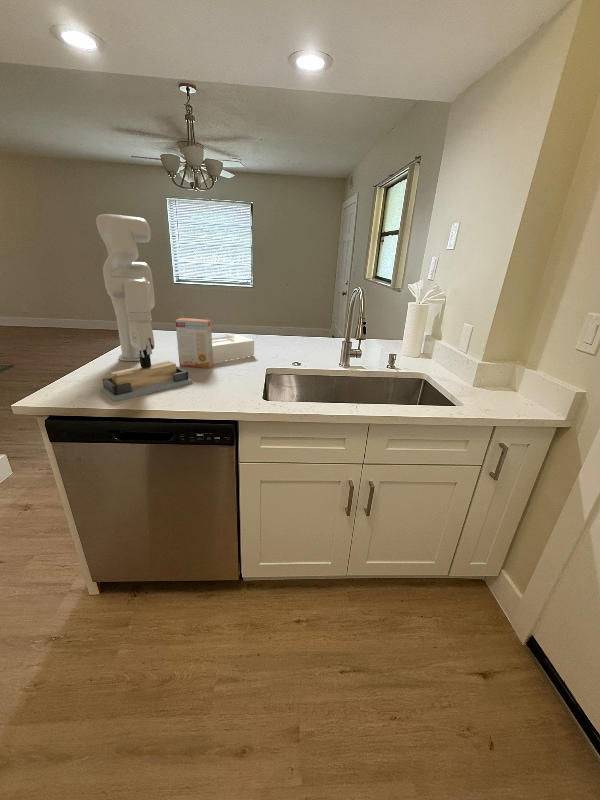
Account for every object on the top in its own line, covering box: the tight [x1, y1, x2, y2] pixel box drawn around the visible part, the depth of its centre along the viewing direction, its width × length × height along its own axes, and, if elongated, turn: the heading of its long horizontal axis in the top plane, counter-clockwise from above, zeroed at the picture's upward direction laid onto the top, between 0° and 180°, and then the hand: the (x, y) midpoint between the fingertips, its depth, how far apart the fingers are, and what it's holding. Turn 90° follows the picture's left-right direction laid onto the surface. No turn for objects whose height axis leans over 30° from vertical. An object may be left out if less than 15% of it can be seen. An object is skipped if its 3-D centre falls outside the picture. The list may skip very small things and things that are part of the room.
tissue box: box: [212, 333, 255, 364], centre depth 169 cm, size 14×25×11 cm, turn 132°
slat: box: [110, 360, 177, 389], centre depth 126 cm, size 5×22×6 cm, turn 141°
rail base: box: [99, 365, 193, 402], centre depth 127 cm, size 13×29×4 cm, turn 137°
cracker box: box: [175, 317, 214, 369], centre depth 151 cm, size 14×6×21 cm, turn 84°
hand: (146, 366), depth 125 cm, fingers closed
